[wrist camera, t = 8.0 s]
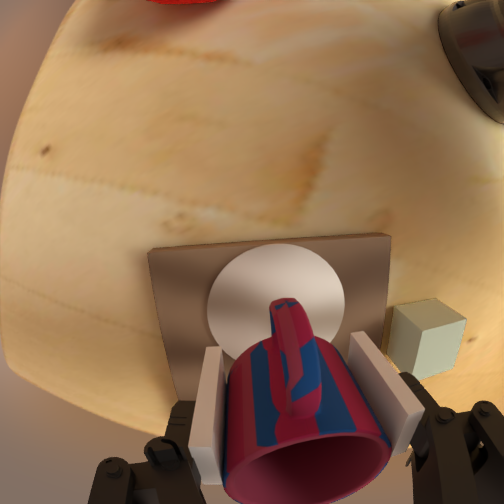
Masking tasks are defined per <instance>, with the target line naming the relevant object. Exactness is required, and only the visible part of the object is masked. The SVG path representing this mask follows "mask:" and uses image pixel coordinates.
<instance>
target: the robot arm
mask: <svg viewBox="0 0 504 504" xmlns="http://www.w3.org/2000/svg"><path fill="white" fill-rule="evenodd" d="M438 27H439V34H440V38H441V41H442V44H443V47H444V49H445V52H446V54H447V57H448V59H449V61H450V63H451V65H452V67H453V69H454V70H455V72H456V74H457V76H458V77H459V79H460V81H461V82H462V84H463V85H464V87H465V88H466V90H467V91H468V93H469V94H470V95H471V97H472V98H473V99H474V101H475V102H476V103H477V104H478V105H479V107H480V108H481V109H482V110H483V111H484V112H485V113H486V114H487V115H489V116H490V117H491V118H492V119H494V120H495V121H497V122H499V123H502V124H504V0H464V1H457V2H454V3H452V4H451V5H450V6H448V7H447V8H445V9H444V10H443V11H442V12H441V13H440V15H439V20H438ZM347 366H348V367H349V369H350V371H351V373H352V374H353V376H354V378H355V380H356V381H357V383H358V385H359V387H360V388H361V390H362V392H363V394H364V396H365V397H366V399H367V401H368V403H369V404H370V406H371V408H372V410H373V412H374V413H375V415H376V417H377V419H378V421H379V422H380V424H381V426H382V428H383V430H384V431H385V433H386V435H387V437H388V439H389V441H390V442H391V446H392V453H391V457H392V456H395V455H398V454H401V453H403V452H406V450H407V448H408V446H409V444H410V445H411V446H412V448H413V451H412V453H411V455H410V457H409V458H408V460H407V462H406V466H408V465H409V463H410V462H411V466H412V478H413V500H414V504H504V416H503V415H502V414H501V412H500V411H499V410H498V409H497V407H496V406H495V405H494V404H493V403H491V402H489V401H479V402H477V403H475V404H474V406H473V408H472V410H471V411H467V412H461V413H456V412H455V411H453V410H452V409H450V408H447V407H440V406H439V405H438V404H437V403H436V401H435V400H434V399H433V398H432V396H431V395H430V394H429V393H428V392H427V390H426V389H424V387H423V386H422V384H420V382H419V381H418V380H417V379H416V377H415V376H413V375H412V374H410V373H408V372H402V373H399V374H398V373H397V372H396V370H395V369H394V368H393V367H392V365H391V364H390V363H389V362H388V360H387V359H386V358H385V357H384V355H383V354H382V353H381V352H380V350H379V349H378V348H377V347H376V345H375V344H374V343H373V342H372V341H371V339H370V338H369V337H368V336H367V334H366V333H365V332H364V331H360V332H353V333H351V335H350V345H349V354H348V363H347ZM226 391H227V383H226V376H225V370H224V363H223V355H222V348H221V346H215V347H206V351H205V356H204V362H203V367H202V372H201V377H200V383H199V388H198V393H197V399H196V401H185V400H179V401H178V402H177V403H176V404H175V405H174V406H173V407H172V410H171V414H170V418H169V421H168V425H167V428H166V432H165V436H160V437H157V438H154V439H152V440H150V441H149V442H148V443H147V445H146V446H145V447H144V454H145V456H146V458H147V459H148V461H147V462H143V463H135V464H128V462H126V461H125V460H124V459H121V458H118V457H110V458H107V459H104V460H103V461H102V462H100V464H99V465H98V467H97V470H96V474H95V477H94V481H93V485H92V489H91V493H90V496H89V500H88V504H206V501H205V499H204V497H203V494H202V491H201V489H200V484H201V480H202V482H203V484H216V485H217V484H218V485H219V484H220V485H223V460H224V434H225V412H226ZM481 441H482V443H483V444H484V446H482V445H481V444H480V442H481Z"/></svg>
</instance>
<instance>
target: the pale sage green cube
mask: <svg viewBox="0 0 504 504" xmlns="http://www.w3.org/2000/svg"><path fill="white" fill-rule="evenodd" d="M466 321H467V319H466V318H465V317H463V316H462V315H460V314H459V313H458V312H456V311H455V310H453V309H452V308H450V307H449V306H447V305H446V304H444V303H443V302H441V301H439V300H438V299H436V298H434V299H429V300H424V301H419V302H414V303H408V304H403V305H397V306H394V308H393V316H392V323H391V330H390V336H389V342H388V348H387V353H386V354H387V355H388V356H389V357H390V359H391V360H392V361H393V362H394V364H395V365H396V366H397V368H398V369H399V370H400V371H401V373H402V372H408V373H410V374H412V375H413V376H415V377H416V379H417V380H421V379H424V378H427V377H430V376H433V375H436V374H439V373H442V372H444V371H447V370H450V369H453V367H454V364H455V360H456V357H457V354H458V351H459V347H460V344H461V340H462V337H463V333H464V329H465V325H466Z"/></svg>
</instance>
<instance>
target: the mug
mask: <svg viewBox="0 0 504 504" xmlns="http://www.w3.org/2000/svg"><path fill="white" fill-rule="evenodd" d="M269 313H270V322H271V337H269V338H267V339H264V340H262V341H259V342H258V343H256V344H254V345H252V346H251V347H249V348H248V349H247V350H245V351H244V352H243V353H242V354H241V355H240V356H239V357H238V358H237V359H236V360H235V362H234V363H233V365H232V367H231V368H230V371H229V374H228V377H227V391H226V412H225V434H224V460H223V487H224V490H225V492H226V493H227V494H228V496H229V497H231V498H232V499H233V500H235V501H236V502H239V503H241V504H329V503H332V502H335V501H338V500H340V499H343V498H345V497H347V496H349V495H351V494H353V493H355V492H357V491H358V490H360V489H361V488H363V487H364V486H366V485H367V484H368V483H370V482H371V481H372V480H374V479H375V478H376V477H377V476H378V475H379V474H380V473H381V471H382V470H383V469H384V467H385V466H386V465H387V463H388V461H389V459H390V457H391V453H392V446H391V442H390V441H389V439H388V437H387V435H386V433H385V431H384V430H383V428H382V426H381V424H380V422H379V421H378V419H377V417H376V415H375V413H374V412H373V410H372V408H371V406H370V404H369V403H368V401H367V399H366V397H365V396H364V394H363V392H362V390H361V388H360V387H359V385H358V383H357V381H356V380H355V378H354V376H353V374H352V373H351V371H350V369H349V367H348V366H347V364H346V362H345V361H344V359H343V357H342V355H341V354H340V352H339V351H338V349H336V348H335V347H334V346H333V345H332V344H331V343H329V342H328V341H326V340H325V339H322V338H320V337H317V336H314V334H313V330H312V327H311V324H310V322H309V319H308V316H307V314H306V312H305V310H304V308H303V306H302V305H301V304H300V303H299V302H298V301H297V300H296V299H295V298H280V299H277V300H274V301H272V302H271V304H270V306H269Z"/></svg>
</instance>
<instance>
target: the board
mask: <svg viewBox="0 0 504 504" xmlns="http://www.w3.org/2000/svg"><path fill="white" fill-rule="evenodd" d="M390 251H391V236H389V235H387V234H384V233H372V234H354V235H338V236H321V237H305V238H290V239H275V240H260V241H245V242H231V243H217V244H204V245H190V246H177V247H164V248H153V249H152V250H151V251H149V252H148V253H147V254H148V261H149V268H150V274H151V280H152V286H153V292H154V298H155V303H156V308H157V313H158V318H159V323H160V328H161V333H162V337H163V342H164V346H165V350H166V354H167V359H168V363H169V367H170V370H171V374H172V378H173V382H174V385H175V389H176V393H177V396H178V400H185V401H196V399H197V393H198V388H199V383H200V377H201V372H202V367H203V362H204V356H205V351H206V347H215V346H221V348H222V355H223V363H224V370H225V376H226V383H227V377H228V374H229V371H230V368H231V367H232V365H233V363H234V362H235V360H236V359H237V358H238V357H239V356H240V355H241V354H242V353H243V352H244V351H245V350H247V349H248V348H249V347H251V346H252V345H254V344H256V343H258V342H259V341H262V340H264V339H267V338H269V337H271V322H270V313H269V306H270V304H271V302H272V301H274V300H277V299H280V298H295V299H296V300H297V301H298V302H299V303H300V304H301V305H302V306H303V308H304V310H305V312H306V314H307V316H308V319H309V322H310V324H311V327H312V330H313V334H314V336H317V337H320V338H322V339H325V340H326V341H328V342H329V343H331V344H332V345H333V346H334V347H335V348H336V349H338V351H339V352H340V354H341V355H342V357H343V359H344V361H345V362H346V364H347V363H348V354H349V345H350V335H351V333H353V332H360V331H364V332H365V333H366V334H367V336H368V337H369V338H370V339H371V341H372V342H373V343H374V344H375V345H376V347H377V348H378V349H379V350H380V347H381V341H382V334H383V328H384V320H385V312H386V303H387V294H388V283H389V269H390Z"/></svg>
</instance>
